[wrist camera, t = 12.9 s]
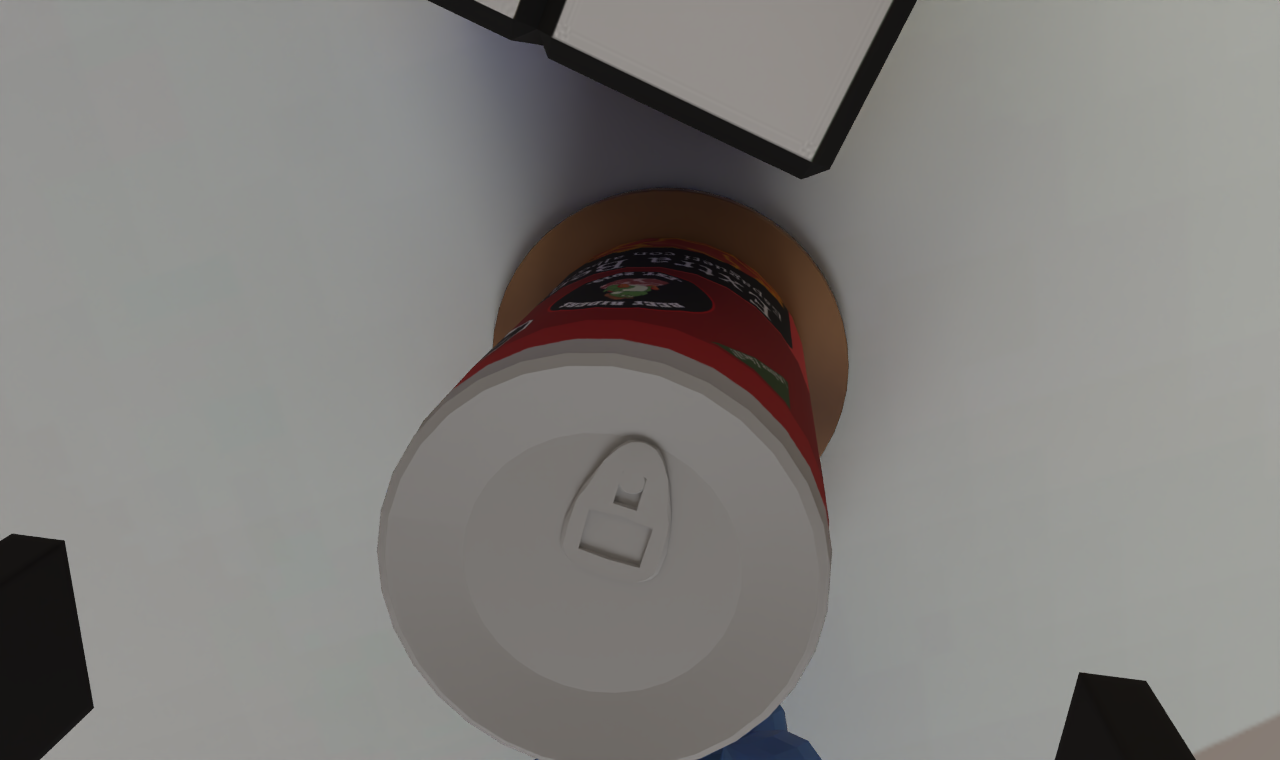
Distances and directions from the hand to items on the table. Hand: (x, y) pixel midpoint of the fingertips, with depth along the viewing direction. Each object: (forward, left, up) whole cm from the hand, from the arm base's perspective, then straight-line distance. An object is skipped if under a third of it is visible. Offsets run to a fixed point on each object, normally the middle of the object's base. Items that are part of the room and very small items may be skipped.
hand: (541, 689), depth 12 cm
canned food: (0, 0, -14) cm, 14 cm away
